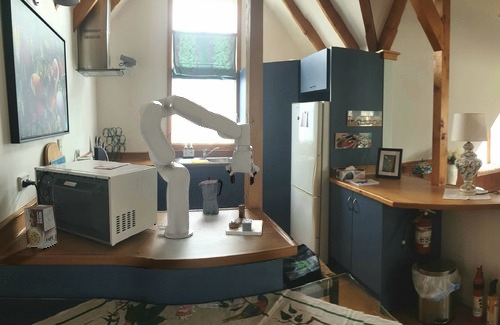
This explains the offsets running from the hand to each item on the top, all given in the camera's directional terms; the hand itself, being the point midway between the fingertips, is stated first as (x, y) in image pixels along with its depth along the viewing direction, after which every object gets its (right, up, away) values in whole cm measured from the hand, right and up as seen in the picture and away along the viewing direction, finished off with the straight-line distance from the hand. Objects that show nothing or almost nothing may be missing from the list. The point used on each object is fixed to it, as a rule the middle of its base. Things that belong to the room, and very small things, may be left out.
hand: (242, 184), depth 167 cm
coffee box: (-80, -23, -28) cm, 88 cm away
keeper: (0, -20, -10) cm, 22 cm away
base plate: (+1, -21, -4) cm, 21 cm away
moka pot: (-18, -18, +24) cm, 35 cm away
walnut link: (-2, -19, -3) cm, 19 cm away
